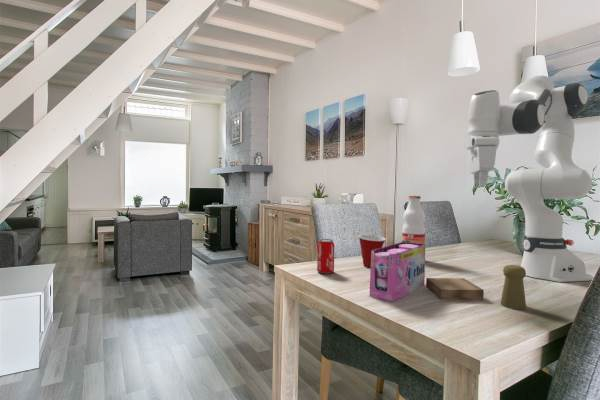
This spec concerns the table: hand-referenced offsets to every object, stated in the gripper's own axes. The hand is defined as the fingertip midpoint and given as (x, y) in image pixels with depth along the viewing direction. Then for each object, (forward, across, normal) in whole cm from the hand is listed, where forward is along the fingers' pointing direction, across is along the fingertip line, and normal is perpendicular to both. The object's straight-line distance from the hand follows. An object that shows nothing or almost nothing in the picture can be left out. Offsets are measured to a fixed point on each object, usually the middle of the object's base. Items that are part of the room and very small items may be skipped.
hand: (479, 187), depth 109 cm
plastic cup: (+32, -19, -35) cm, 51 cm away
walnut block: (+32, +8, -7) cm, 34 cm away
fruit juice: (+32, -36, -19) cm, 51 cm away
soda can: (+33, -3, -49) cm, 59 cm away
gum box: (+33, +10, -23) cm, 41 cm away
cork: (+32, +14, +8) cm, 36 cm away
